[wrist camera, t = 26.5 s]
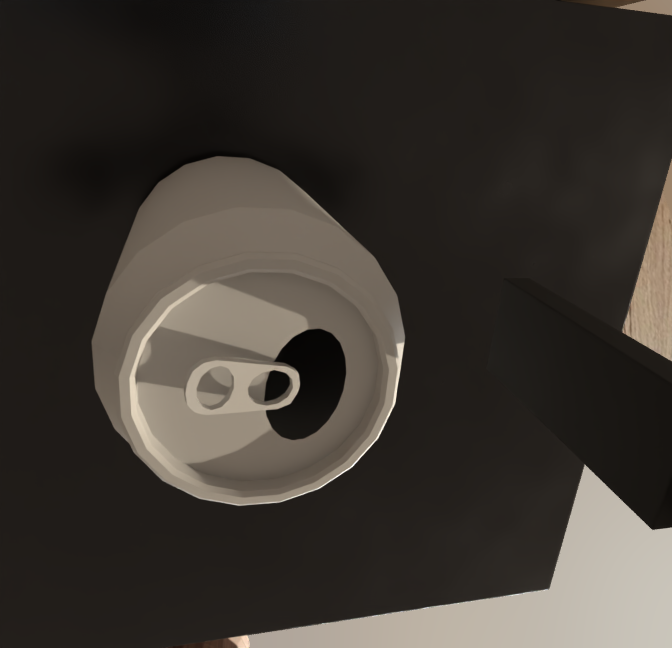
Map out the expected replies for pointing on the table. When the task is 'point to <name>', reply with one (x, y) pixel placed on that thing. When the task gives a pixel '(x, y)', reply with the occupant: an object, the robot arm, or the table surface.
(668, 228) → the table surface
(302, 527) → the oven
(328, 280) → the can
